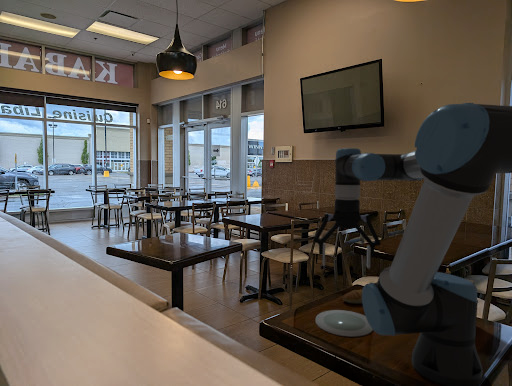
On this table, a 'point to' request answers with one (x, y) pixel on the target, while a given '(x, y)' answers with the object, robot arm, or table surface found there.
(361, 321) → the serving plate
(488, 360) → the table surface
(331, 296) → the table surface
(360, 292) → the pastry
